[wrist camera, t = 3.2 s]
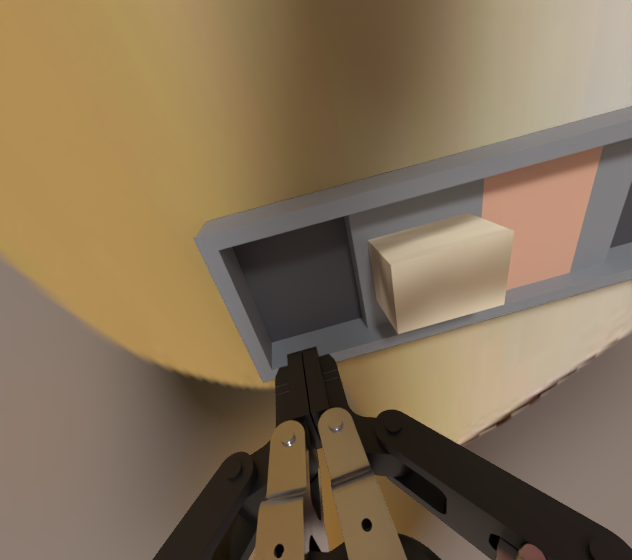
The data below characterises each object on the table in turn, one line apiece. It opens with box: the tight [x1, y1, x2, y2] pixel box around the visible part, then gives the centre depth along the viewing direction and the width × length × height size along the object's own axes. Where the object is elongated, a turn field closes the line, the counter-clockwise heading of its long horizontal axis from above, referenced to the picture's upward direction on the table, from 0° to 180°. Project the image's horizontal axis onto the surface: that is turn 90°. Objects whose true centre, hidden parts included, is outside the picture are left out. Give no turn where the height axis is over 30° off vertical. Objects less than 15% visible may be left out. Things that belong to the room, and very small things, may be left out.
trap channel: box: [194, 106, 632, 383], centre depth 20 cm, size 12×38×4 cm, turn 103°
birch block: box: [368, 213, 514, 334], centre depth 18 cm, size 5×7×4 cm
